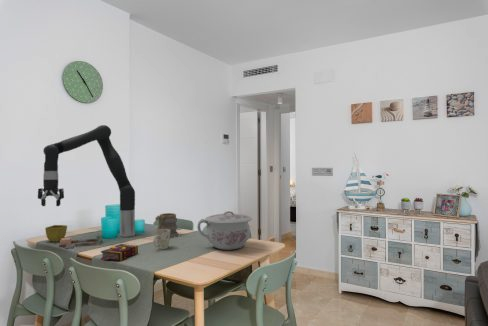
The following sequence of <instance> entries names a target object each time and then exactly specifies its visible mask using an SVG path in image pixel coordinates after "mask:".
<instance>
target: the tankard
mask: <svg viewBox="0 0 488 326" xmlns="http://www.w3.org/2000/svg"><path fill="white" fill-rule="evenodd" d="M154 219H155V221H158V225H157V230H159V229H169V230H170V238H174V237H176V236H178V235H179V232H178V231H177V229H178V224H177V222H178V218H177V214H176V213H172V212H170V213H169V212H166V213H160V214H159V215H157V216H155V218H154Z"/></svg>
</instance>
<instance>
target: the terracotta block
mask: <svg viewBox="0 0 488 326" xmlns="http://www.w3.org/2000/svg"><path fill="white" fill-rule="evenodd" d="M71 240H72V237H64V238H62V239H61V240H60V241H59V245H63V244H67V246H72V243H71Z"/></svg>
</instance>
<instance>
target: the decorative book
mask: <svg viewBox="0 0 488 326" xmlns="http://www.w3.org/2000/svg"><path fill="white" fill-rule="evenodd" d="M138 251H139V246H138V245H132V244H124V243H120V244H117V245H115V246H111V247H110V248H107V249H104V250H101V251H100V253H102V257H101V258H100V260H101V261H115V262H120V261H125V260H127V258H130V257H133V256H135V255H137V254H138V253H139V252H138Z"/></svg>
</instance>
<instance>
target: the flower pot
mask: <svg viewBox="0 0 488 326" xmlns="http://www.w3.org/2000/svg"><path fill="white" fill-rule="evenodd" d="M44 229H45V235H46V238H47V240H48V241H49V242H51V241H52V242H55V243H57V242H60V240H61V239H62V238H66V237H65V236H66V234H67V229H68V225H64V224H62V225H61V224H54V225H49V226H46V227H45V228H44Z"/></svg>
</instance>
